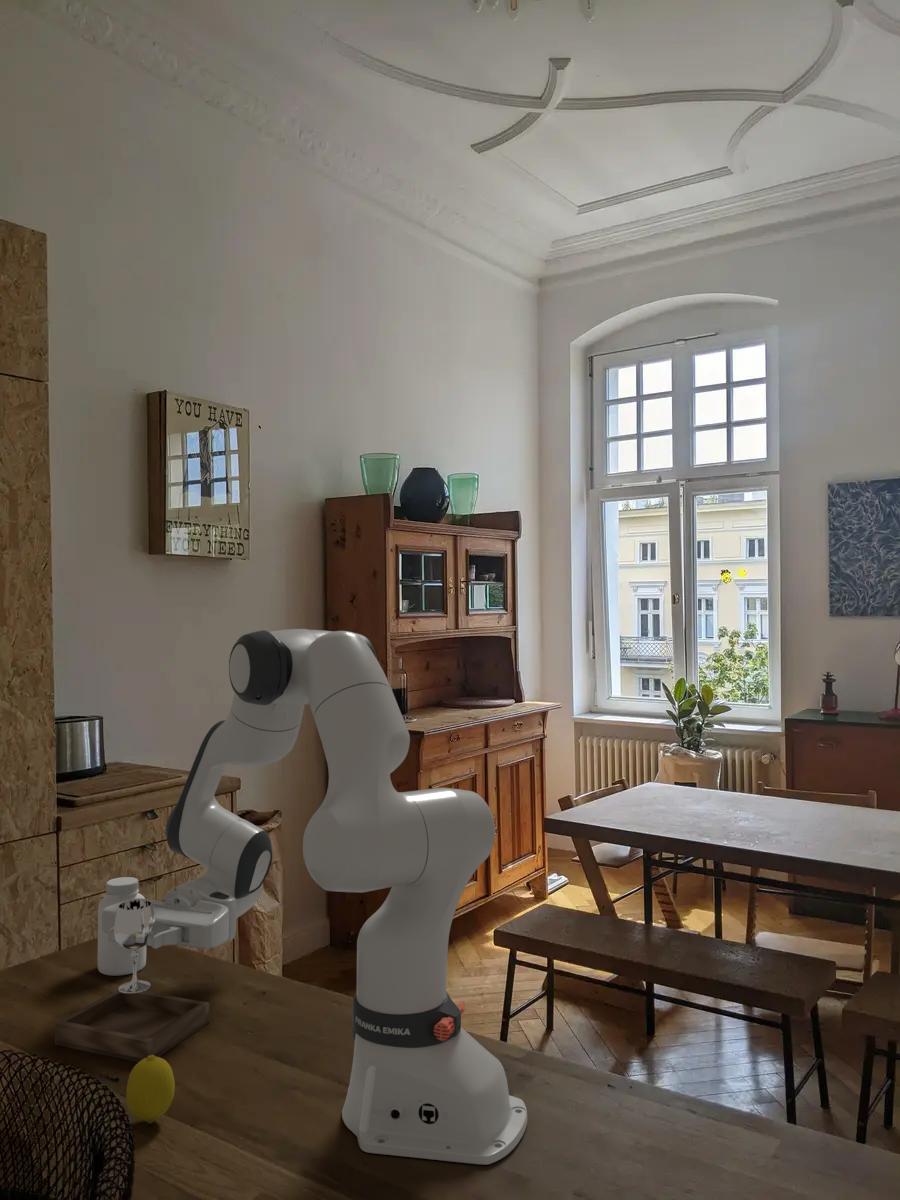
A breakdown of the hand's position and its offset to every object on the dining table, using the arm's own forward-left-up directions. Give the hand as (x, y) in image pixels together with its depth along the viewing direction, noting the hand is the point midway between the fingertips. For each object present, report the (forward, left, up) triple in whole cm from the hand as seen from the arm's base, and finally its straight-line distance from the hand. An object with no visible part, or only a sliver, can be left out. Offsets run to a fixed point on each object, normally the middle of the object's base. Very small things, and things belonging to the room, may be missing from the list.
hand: (131, 939), depth 137 cm
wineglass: (0, -1, -7) cm, 8 cm away
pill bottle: (+19, -21, -14) cm, 31 cm away
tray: (0, -1, -14) cm, 14 cm away
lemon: (-18, +18, -14) cm, 29 cm away
